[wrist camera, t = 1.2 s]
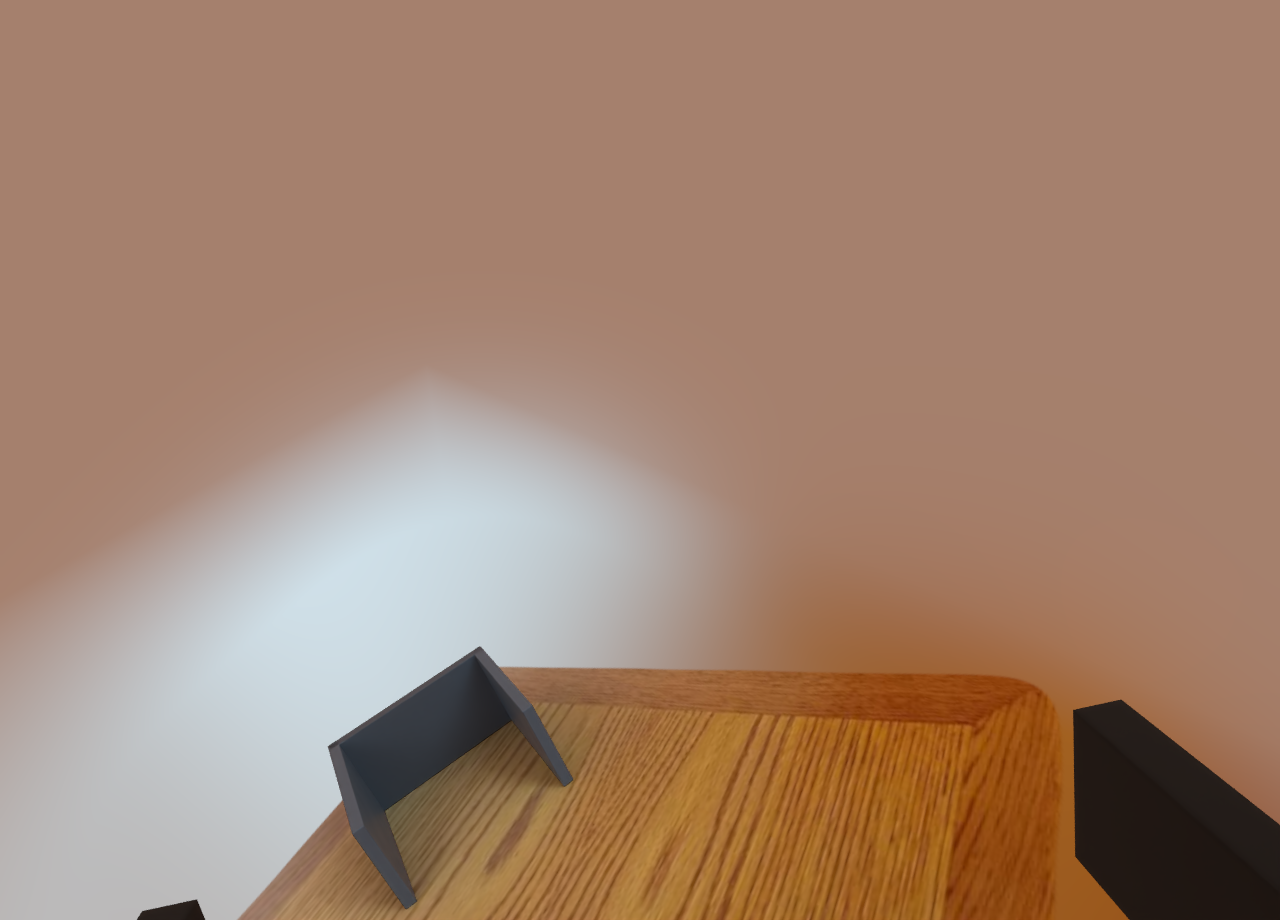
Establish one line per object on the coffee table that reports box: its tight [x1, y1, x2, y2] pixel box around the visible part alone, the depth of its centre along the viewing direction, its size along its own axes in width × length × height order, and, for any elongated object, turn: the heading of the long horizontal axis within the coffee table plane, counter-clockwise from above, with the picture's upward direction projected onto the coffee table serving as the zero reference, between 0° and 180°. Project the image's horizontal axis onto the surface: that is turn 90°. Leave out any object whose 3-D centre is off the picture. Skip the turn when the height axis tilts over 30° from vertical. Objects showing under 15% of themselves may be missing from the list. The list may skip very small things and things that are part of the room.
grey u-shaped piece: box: [328, 647, 573, 909], centre depth 55 cm, size 12×13×7 cm
